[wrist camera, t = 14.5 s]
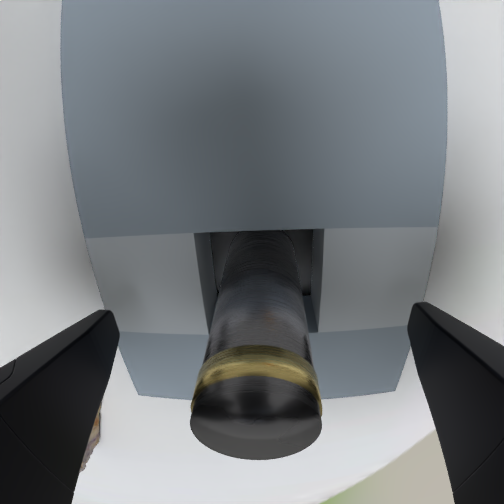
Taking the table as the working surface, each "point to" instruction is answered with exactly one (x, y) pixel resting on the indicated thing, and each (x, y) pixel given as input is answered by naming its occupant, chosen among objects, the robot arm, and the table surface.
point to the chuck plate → (257, 167)
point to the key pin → (258, 357)
